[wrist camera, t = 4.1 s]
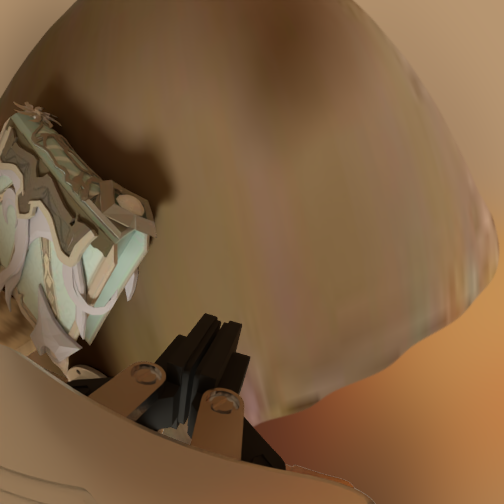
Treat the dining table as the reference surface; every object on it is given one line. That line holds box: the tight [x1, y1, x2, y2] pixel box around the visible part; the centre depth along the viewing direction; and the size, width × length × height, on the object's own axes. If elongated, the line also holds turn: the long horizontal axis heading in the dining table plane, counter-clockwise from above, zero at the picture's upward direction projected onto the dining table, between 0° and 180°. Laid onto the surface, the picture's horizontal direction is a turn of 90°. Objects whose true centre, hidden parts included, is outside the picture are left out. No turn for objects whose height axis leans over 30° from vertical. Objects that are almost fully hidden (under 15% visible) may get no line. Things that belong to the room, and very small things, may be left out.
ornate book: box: [0, 101, 157, 377], centre depth 24 cm, size 23×10×30 cm
